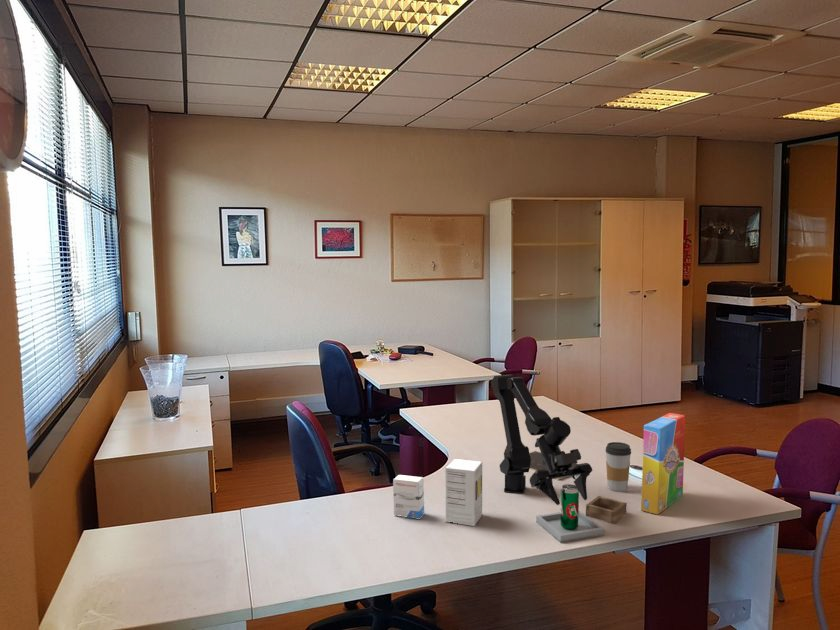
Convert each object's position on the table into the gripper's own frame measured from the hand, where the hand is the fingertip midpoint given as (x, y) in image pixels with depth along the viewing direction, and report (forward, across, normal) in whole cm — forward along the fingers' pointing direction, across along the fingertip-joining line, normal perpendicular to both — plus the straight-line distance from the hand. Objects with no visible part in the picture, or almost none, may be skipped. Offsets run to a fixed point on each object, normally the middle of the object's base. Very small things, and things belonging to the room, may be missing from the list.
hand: (572, 502), depth 181 cm
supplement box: (-8, -25, +20) cm, 33 cm away
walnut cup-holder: (+2, +16, +10) cm, 19 cm away
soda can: (+5, 0, +7) cm, 8 cm away
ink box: (-14, -40, +26) cm, 50 cm away
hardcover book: (-28, +22, +41) cm, 55 cm away
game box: (+2, +38, +10) cm, 39 cm away
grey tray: (+5, 0, +7) cm, 9 cm away
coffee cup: (-9, +33, +21) cm, 40 cm away
